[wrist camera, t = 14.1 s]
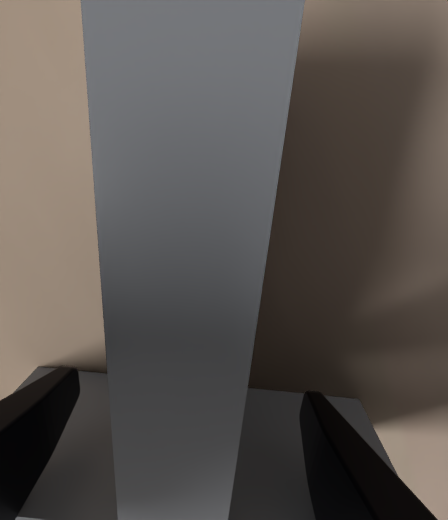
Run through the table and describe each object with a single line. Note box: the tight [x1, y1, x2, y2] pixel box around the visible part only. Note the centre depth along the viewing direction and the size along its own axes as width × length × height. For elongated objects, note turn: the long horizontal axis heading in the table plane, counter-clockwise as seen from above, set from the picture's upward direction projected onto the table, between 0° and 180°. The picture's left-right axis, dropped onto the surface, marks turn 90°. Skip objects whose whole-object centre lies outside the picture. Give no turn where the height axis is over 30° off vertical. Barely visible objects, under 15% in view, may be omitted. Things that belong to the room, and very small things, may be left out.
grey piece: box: [15, 0, 398, 520], centre depth 7 cm, size 12×12×4 cm
